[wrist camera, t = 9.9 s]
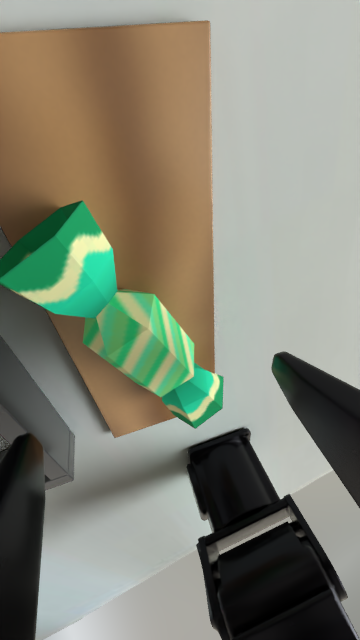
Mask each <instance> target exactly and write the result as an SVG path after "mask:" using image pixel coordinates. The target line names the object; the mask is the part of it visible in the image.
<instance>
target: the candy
mask: <svg viewBox="0 0 360 640" xmlns="http://www.w3.org/2000/svg"><path fill="white" fill-rule="evenodd" d="M0 285H2V286H4V287H6V288H8V289H9V290H11V291H13V292H15V293H17V294H19V295H21V296H23V297H24V298H26V299H28V300H30V301H32V302H34V303H36V304H37V305H39V306H41V307H43V308H45V309H47V310H49V311H51V312H52V313H54V314H61V315H69V316H78V317H85V326H84V335H83V343H84V344H85V345H86V346H87V347H89V348H90V349H91V350H93V351H94V352H95V353H97V354H98V355H99V356H101V357H102V358H103V359H105V360H106V361H107V362H109V363H110V364H111V365H113V366H114V367H115V368H117V369H118V370H119V371H121V372H122V373H123V374H125V375H126V376H127V377H129V378H130V379H131V380H133V381H134V382H135V383H137V384H139V385H141V386H142V387H144V388H146V389H147V390H149V391H151V392H152V393H154V394H156V395H157V396H159V397H162V401H163V403H164V404H165V405H166V406H167V408H168V409H169V410H170V411H171V412H172V414H173V415H175V416H176V417H178V418H179V419H181V420H182V421H184V422H186V423H187V424H189V425H190V426H192V427H194V428H197V427H198V426H199V425H201V424H202V423H203V422H205V421H206V420H207V419H209V418H210V417H211V416H213V415H214V414H215V413H217V412H218V411H219V410H221V409H222V405H223V377H222V376H219V375H217V374H214V373H212V372H209V371H207V370H205V369H203V368H202V367H200V366H199V365H197V364H196V363H194V343H193V342H192V340H191V339H190V338H189V337H188V335H187V334H186V333H185V332H184V330H183V329H182V328H181V327H180V326H179V324H178V323H177V322H176V321H175V319H174V318H173V317H172V316H171V314H170V313H169V312H168V311H167V309H166V308H165V307H164V306H163V304H162V303H161V302H160V301H159V300H158V298H157V297H156V296H155V295H154V294H151V293H145V292H139V291H133V290H127V289H122V290H117V283H116V274H115V265H114V255H113V249H112V247H111V245H110V244H109V242H108V241H107V239H106V237H105V236H104V234H103V232H102V231H101V229H100V227H99V226H98V224H97V223H96V221H95V219H94V218H93V216H92V214H91V213H90V211H89V210H88V208H87V206H86V205H85V203H84V201H83V200H81V201H78V202H75V203H72V204H69V205H66V206H63V207H60V208H59V209H58V210H56V211H55V212H54V213H53V214H51V215H50V216H49V217H47V218H46V219H45V220H44V221H42V222H41V223H40V224H38V225H37V226H36V227H35V228H33V229H32V230H31V231H30V232H28V233H27V234H26V235H24V236H23V237H22V238H21V239H19V240H18V241H17V242H16V243H15V244H14V245H13V246H12V248H11V249H10V250H9V251H8V252H7V253H6V254H5V255H4V256H3V257H2V258H1V259H0Z"/></svg>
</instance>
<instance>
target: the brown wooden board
mask: <svg viewBox="0 0 360 640" xmlns="http://www.w3.org/2000/svg"><path fill="white" fill-rule="evenodd" d="M81 200H83V201H84V203H85V205H86V206H87V208H88V210H89V211H90V213H91V214H92V216H93V218H94V219H95V221H96V223H97V224H98V226H99V227H100V229H101V231H102V232H103V234H104V236H105V237H106V239H107V241H108V242H109V244H110V245H111V247H112V249H113V255H114V265H115V274H116V283H117V290H122V289H127V290H133V291H139V292H145V293H151V294H154V295H155V296H156V297H157V298H158V300H159V301H160V302H161V303H162V304H163V306H164V307H165V308H166V309H167V311H168V312H169V313H170V314H171V316H172V317H173V318H174V319H175V321H176V322H177V323H178V324H179V326H180V327H181V328H182V329H183V330H184V332H185V333H186V334H187V335H188V337H189V338H190V339H191V340H192V342H193V343H194V363H196V364H197V365H199V366H200V367H202V368H203V369H205V370H207V371H209V372H212V373H214V374H215V358H214V281H213V203H212V125H211V48H210V21H191V22H173V23H156V24H139V25H122V26H104V27H87V28H70V29H53V30H35V31H18V32H1V33H0V227H1V228H2V230H3V232H4V234H5V236H6V238H7V239H8V241H9V243H10V245H11V247H12V246H13V245H14V244H15V243H16V242H17V241H18V240H19V239H21V238H22V237H23V236H24V235H26V234H27V233H28V232H30V231H31V230H32V229H33V228H35V227H36V226H37V225H38V224H40V223H41V222H42V221H44V220H45V219H46V218H47V217H49V216H50V215H51V214H53V213H54V212H55V211H56V210H58V209H59V208H60V207H63V206H66V205H69V204H72V203H75V202H78V201H81ZM45 310H46V312H47V314H48V315H49V317H50V319H51V321H52V323H53V325H54V327H55V328H56V330H57V332H58V334H59V336H60V338H61V340H62V341H63V343H64V345H65V347H66V349H67V351H68V352H69V354H70V356H71V358H72V360H73V362H74V364H75V365H76V367H77V369H78V371H79V373H80V375H81V377H82V378H83V380H84V382H85V384H86V386H87V388H88V390H89V391H90V393H91V395H92V397H93V399H94V401H95V403H96V404H97V406H98V408H99V410H100V412H101V414H102V415H103V417H104V419H105V421H106V423H107V425H108V427H109V428H110V430H111V432H112V434H113V436H114V438H116V437H119V436H122V435H125V434H128V433H131V432H134V431H137V430H140V429H143V428H146V427H149V426H152V425H155V424H158V423H161V422H164V421H167V420H170V419H173V418H176V416H175V415H173V414H172V412H171V411H170V410H169V409H168V408H167V406H166V405H165V404H164V403H163V401H162V397H159V396H157V395H156V394H154V393H152V392H151V391H149V390H147V389H146V388H144V387H142V386H141V385H139V384H137V383H135V382H134V381H133V380H131V379H130V378H129V377H127V376H126V375H125V374H123V373H122V372H121V371H119V370H118V369H117V368H115V367H114V366H113V365H111V364H110V363H109V362H107V361H106V360H105V359H103V358H102V357H101V356H99V355H98V354H97V353H95V352H94V351H93V350H91V349H90V348H89V347H87V346H86V345H85V344H84V343H83V335H84V326H85V317H78V316H69V315H61V314H54V313H52V312H51V311H49V310H47V309H45Z"/></svg>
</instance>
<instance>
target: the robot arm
mask: <svg viewBox="0 0 360 640" xmlns="http://www.w3.org/2000/svg"><path fill="white" fill-rule="evenodd" d="M272 372H273V375H274V376H275V378H276V380H277V382H278V384H279V386H280V388H281V389H282V391H283V393H284V395H285V397H286V399H287V401H288V402H289V404H290V406H291V408H292V409H293V411H294V412H295V414H296V415H297V417H298V418H299V420H300V421H301V423H302V424H303V426H304V427H305V428H306V430H307V431H308V433H309V434H310V436H311V437H312V439H313V440H314V442H315V443H316V445H317V446H318V448H319V449H320V450H321V452H322V453H323V455H324V456H325V458H326V459H327V461H328V462H329V464H330V465H331V467H332V468H333V470H334V471H335V472H336V474H337V475H338V477H339V478H340V480H341V481H342V483H343V484H344V486H345V487H346V489H347V490H348V491H349V493H350V495H351V496H352V497H353V499H354V500H355V502H356V503H357V505H358V506H359V508H360V390H359V389H357V388H355V387H353V386H351V385H349V384H347V383H345V382H343V381H341V380H339V379H337V378H336V377H334V376H332V375H330V374H328V373H326V372H324V371H322V370H320V369H318V368H316V367H314V366H312V365H310V364H308V363H307V362H305V361H303V360H301V359H299V358H297V357H295V356H293V355H291V354H289V353H287V352H280V353H277V354H275V355H274V358H273V363H272ZM250 435H251V432H250V430H249V429H248V428H246V429H243V430H240V431H238V432H235V433H232V434H229V435H227V436H224V437H221V438H218V439H216V440H213V441H210V442H207V443H205V444H202V445H199V446H196V447H194V448H191V449H190V450H188V456H189V462H190V463H189V464H188V465H187V472H188V477H189V480H190V484H191V487H192V490H193V494H194V497H195V500H196V503H197V507H198V510H199V513H200V517H201V519H202V520H204V521H205V520H207V519H208V521H209V524H210V527H211V530H212V534H210V535H208V536H206V537H205V536H203V537H200V538H198V541H199V543H198V544H197V545H196V546H197V549H198V553H199V556H200V560H201V564H202V569H203V574H204V580H205V588H206V595H207V602H208V609H209V616H210V621H211V624H212V627H213V628H214V629H215V630H217V631H218V632H219V634H220V636H221V638H222V640H360V639H359V637H358V635H357V633H356V631H355V629H354V627H353V625H352V623H351V621H350V619H349V617H348V615H347V614H346V612H345V610H344V608H343V606H342V604H341V601H343V600H345V599H347V598H348V596H347V594H346V591H345V589H344V587H343V585H342V583H341V581H340V579H339V577H338V575H337V573H336V571H335V570H334V567H333V566H332V564H331V562H330V560H329V559H328V557H327V555H326V553H325V552H324V550H323V548H322V547H321V545H320V544H319V542H318V540H317V539H316V537H315V535H314V534H313V532H312V530H311V529H310V527H309V525H308V524H307V522H306V520H305V519H304V517H303V515H302V514H301V512H300V511H299V509H298V507H297V506H296V504H295V503H294V501H293V499H292V497H291V496H290V494H288V495H286V496H284V498H283V499H281V500H280V498H279V496H278V495H277V493H276V491H275V489H274V487H273V485H272V483H271V481H270V479H269V478H268V476H267V474H266V472H265V470H264V468H263V466H262V464H261V462H260V461H259V459H258V457H257V455H256V453H255V451H254V449H253V447H252V446H251V444H250V442H249V441H250ZM44 510H45V473H44V449H43V445H42V443H41V442H40V441H39V440H38V439H37V438H36V437H35V436H34V435H33V434H32V433H30V432H29V433H25V434H22V435H19V436H17V437H16V438H15V439H14V441H13V442H12V444H11V446H10V447H9V449H8V450H7V452H6V453H5V455H4V457H3V458H2V460H1V461H0V640H35V633H36V620H37V606H38V592H39V578H40V565H41V551H42V537H43V523H44ZM289 516H290V518H291V520H292V522H291V523H288V522H285V523H284V524H281V525H279V526H278V527H275V528H273V529H271V530H269V531H268V532H265V533H263V534H261V535H259V536H258V537H255V538H253V539H251V540H249V541H247V542H245V543H243V544H241V545H239V546H237V547H235V548H233V549H231V550H229V551H227V552H225V553H223V554H221V555H220V554H219V551H221V550H223V549H224V548H227V547H229V546H231V545H233V544H235V543H237V542H239V541H241V540H243V539H245V538H247V537H249V536H251V535H253V534H255V533H257V532H259V531H261V530H263V529H265V528H267V527H269V526H271V525H273V524H275V523H277V522H279V521H281V520H283V519H285V518H287V517H289Z"/></svg>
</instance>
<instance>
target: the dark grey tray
mask: <svg viewBox="0 0 360 640" xmlns="http://www.w3.org/2000/svg"><path fill="white" fill-rule="evenodd" d="M29 432H30V433H32V434H33V435H34V436H35V437H36V438H37V439H38V440H39V441H40V442H41V443H42V445H43V449H44V473H45V490H48V489H51V488H54V487H56V486H59V485H62V484H65V483H68V482H70V481H73V480H74V445H75V436H74V435H73V433H72V432H71V431H70V429H69V428H68V426H67V425H66V423H65V422H64V421H63V419H62V418H61V417H60V415H59V414H58V413H57V411H56V410H55V409H54V407H53V406H52V405H51V403H50V402H49V401H48V399H47V398H46V396H45V395H44V394H43V392H42V391H41V390H40V388H39V387H38V386H37V384H36V383H35V382H34V380H33V379H32V378H31V376H30V375H29V373H28V372H27V371H26V369H25V368H24V367H23V365H22V364H21V363H20V361H19V360H18V359H17V357H16V356H15V355H14V353H13V352H12V351H11V349H10V348H9V346H8V345H7V344H6V342H5V341H4V340H3V338H2V337H1V336H0V435H1V436H2V437H3V438H4V439H5V440H7V441H8V442H9V443H10V444H12V442H13V441H14V439H15V438H16V437H17V436H19V435H22V434H25V433H29ZM6 452H7V450H4V451H1V452H0V461H1V460H2V458H3V457H4V455H5V453H6Z"/></svg>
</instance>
